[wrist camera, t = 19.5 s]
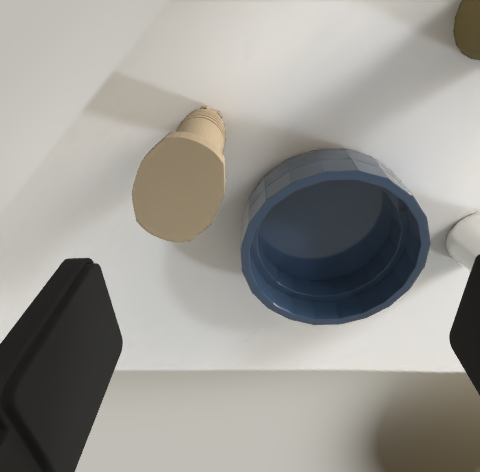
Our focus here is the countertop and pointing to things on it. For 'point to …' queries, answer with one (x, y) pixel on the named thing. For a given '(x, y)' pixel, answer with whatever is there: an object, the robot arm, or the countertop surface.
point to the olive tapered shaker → (468, 28)
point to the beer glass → (465, 241)
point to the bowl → (332, 238)
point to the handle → (182, 179)
